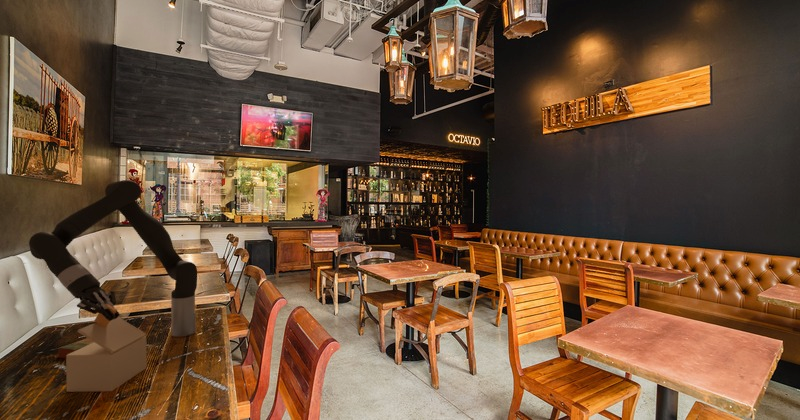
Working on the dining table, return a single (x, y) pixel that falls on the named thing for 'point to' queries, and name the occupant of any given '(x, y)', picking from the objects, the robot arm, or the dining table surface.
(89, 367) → the cardboard box
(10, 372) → the dining table surface
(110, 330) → the tan box lid
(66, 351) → the carton
